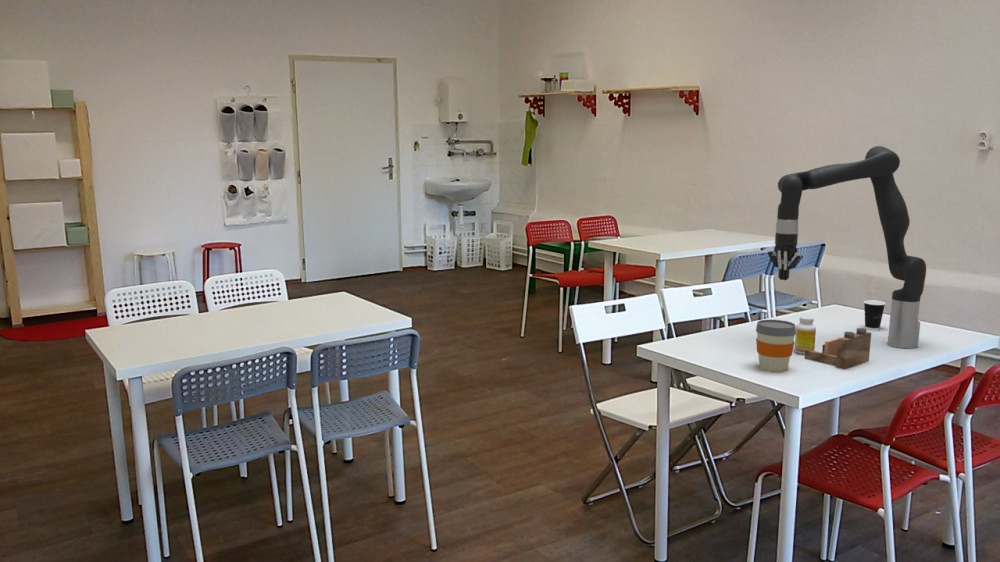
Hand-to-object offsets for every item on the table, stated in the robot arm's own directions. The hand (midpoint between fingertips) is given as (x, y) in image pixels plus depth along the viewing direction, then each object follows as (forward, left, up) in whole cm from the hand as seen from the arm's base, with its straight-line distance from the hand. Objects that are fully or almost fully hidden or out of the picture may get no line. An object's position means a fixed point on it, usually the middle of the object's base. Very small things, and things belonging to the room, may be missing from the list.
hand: (783, 279), depth 290 cm
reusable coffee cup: (+10, +26, -25) cm, 38 cm away
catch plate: (-13, +16, -24) cm, 32 cm away
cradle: (-14, +17, -25) cm, 33 cm away
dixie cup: (-46, -29, -25) cm, 60 cm away
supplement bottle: (-6, +8, -25) cm, 27 cm away
